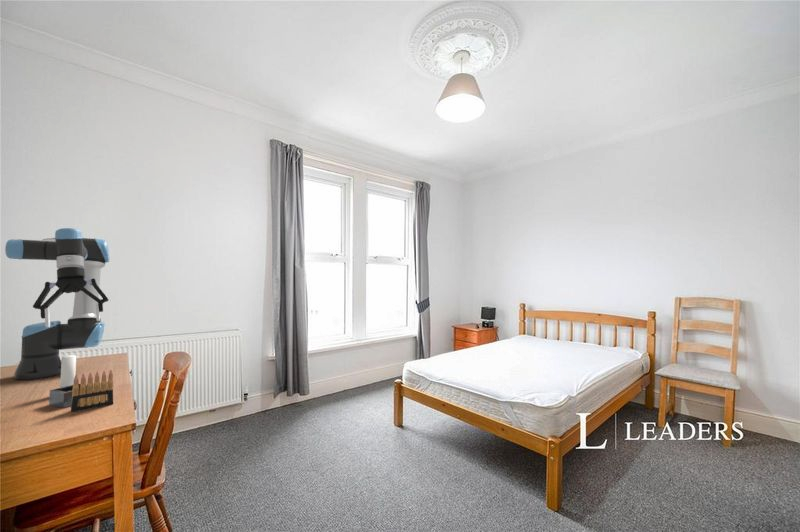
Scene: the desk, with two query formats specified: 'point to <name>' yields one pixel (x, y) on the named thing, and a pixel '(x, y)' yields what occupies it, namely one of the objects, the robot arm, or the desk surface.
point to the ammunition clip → (92, 392)
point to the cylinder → (68, 370)
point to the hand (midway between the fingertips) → (73, 323)
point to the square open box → (62, 396)
